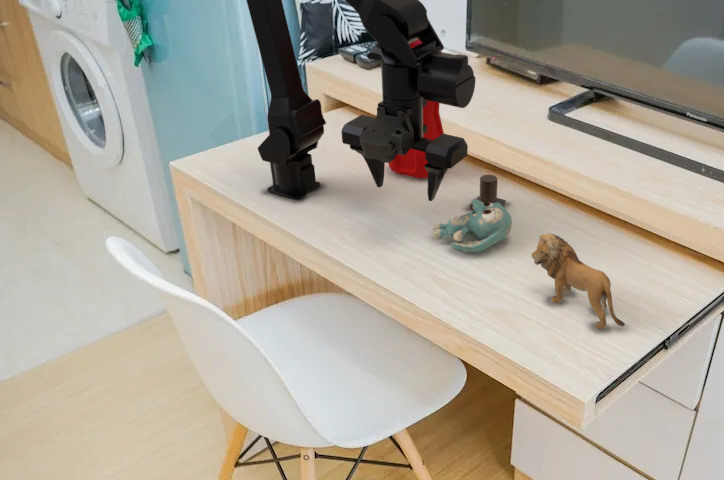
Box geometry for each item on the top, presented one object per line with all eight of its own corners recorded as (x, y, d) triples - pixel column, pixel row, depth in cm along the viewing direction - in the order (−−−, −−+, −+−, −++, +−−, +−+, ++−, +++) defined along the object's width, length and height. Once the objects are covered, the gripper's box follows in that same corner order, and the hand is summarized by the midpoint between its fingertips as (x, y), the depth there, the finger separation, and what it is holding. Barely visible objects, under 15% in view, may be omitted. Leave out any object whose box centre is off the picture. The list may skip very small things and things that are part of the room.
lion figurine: (522, 294, 108) (526, 237, 103) (545, 279, 111) (550, 223, 106) (613, 337, 101) (622, 278, 95) (635, 320, 104) (645, 261, 99)
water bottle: (377, 177, 136) (368, 28, 122) (406, 154, 145) (401, 11, 130) (425, 188, 134) (422, 36, 119) (452, 163, 142) (452, 19, 127)
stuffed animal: (427, 191, 121) (504, 178, 120) (436, 232, 125) (511, 219, 124) (427, 225, 112) (510, 211, 111) (437, 268, 116) (517, 254, 116)
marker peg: (469, 208, 128) (470, 180, 125) (481, 198, 131) (482, 170, 128) (494, 215, 127) (495, 186, 124) (505, 204, 130) (507, 176, 127)
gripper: (314, 98, 110) (324, 200, 119) (431, 125, 103) (432, 230, 113) (359, 76, 118) (365, 172, 127) (470, 99, 112) (468, 199, 121)
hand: (405, 193), depth 122 cm, fingers open, 9 cm apart
